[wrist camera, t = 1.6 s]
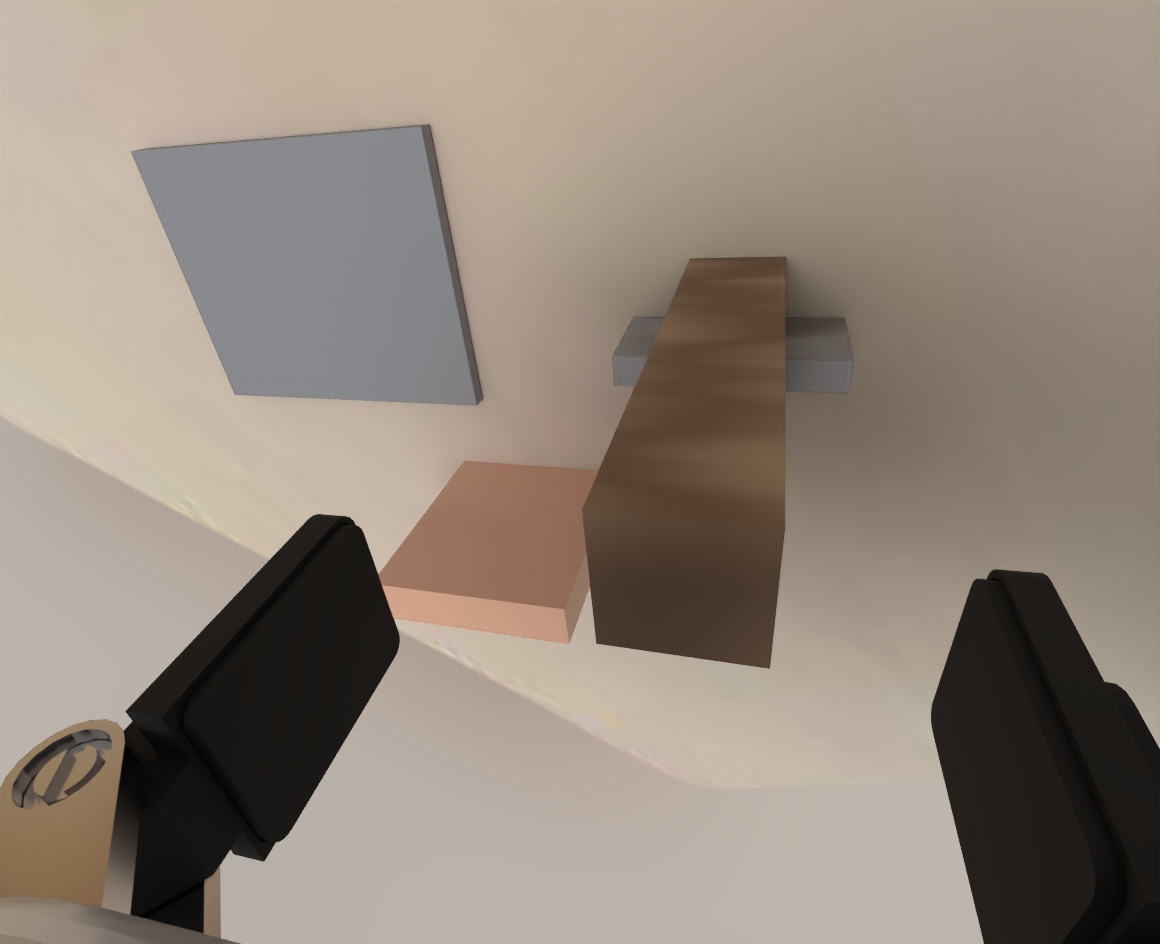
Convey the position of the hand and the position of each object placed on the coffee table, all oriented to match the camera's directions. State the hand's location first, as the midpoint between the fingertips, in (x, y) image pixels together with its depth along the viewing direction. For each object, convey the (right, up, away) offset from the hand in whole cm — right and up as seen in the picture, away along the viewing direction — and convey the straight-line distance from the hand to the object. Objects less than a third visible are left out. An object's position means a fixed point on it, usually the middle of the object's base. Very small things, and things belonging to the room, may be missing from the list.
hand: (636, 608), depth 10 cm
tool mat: (-11, +10, +15) cm, 21 cm away
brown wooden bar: (+4, +8, +11) cm, 14 cm away
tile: (-3, +2, +18) cm, 18 cm away
